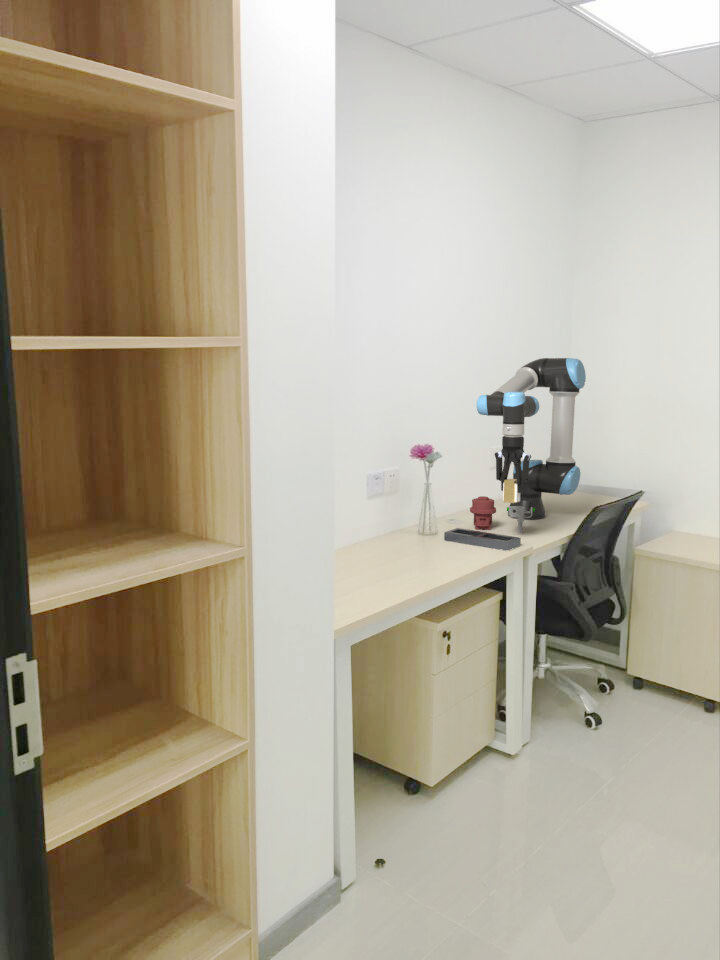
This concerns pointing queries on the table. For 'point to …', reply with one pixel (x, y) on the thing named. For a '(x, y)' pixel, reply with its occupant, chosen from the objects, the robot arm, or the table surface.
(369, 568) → the table surface
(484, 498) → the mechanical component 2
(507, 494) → the brushed brass bar
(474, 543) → the rack frame
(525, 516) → the mechanical component
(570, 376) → the robot arm
